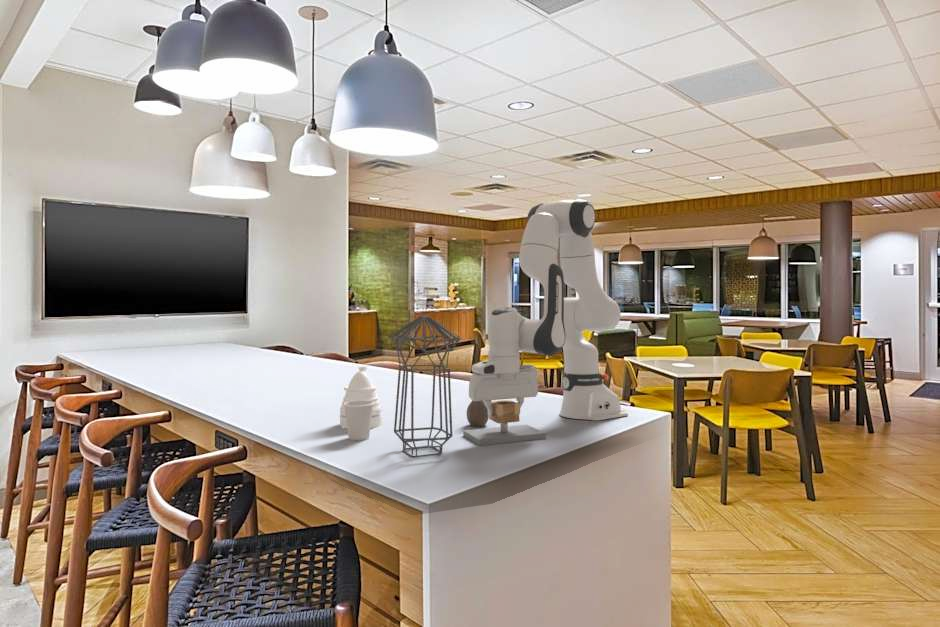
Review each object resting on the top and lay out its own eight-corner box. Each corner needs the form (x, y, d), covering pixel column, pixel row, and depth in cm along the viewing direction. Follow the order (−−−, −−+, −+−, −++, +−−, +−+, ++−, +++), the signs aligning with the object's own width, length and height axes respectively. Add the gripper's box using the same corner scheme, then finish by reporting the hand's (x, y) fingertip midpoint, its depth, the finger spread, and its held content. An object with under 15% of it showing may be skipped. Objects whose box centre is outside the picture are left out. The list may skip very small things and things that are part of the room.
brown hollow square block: (519, 421, 165) (519, 403, 165) (498, 423, 163) (498, 405, 163) (509, 417, 171) (509, 399, 171) (489, 419, 169) (489, 401, 169)
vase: (462, 426, 181) (462, 397, 181) (473, 422, 187) (472, 394, 187) (482, 428, 178) (482, 399, 178) (492, 424, 184) (492, 396, 184)
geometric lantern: (386, 448, 156) (387, 315, 156) (442, 443, 162) (444, 315, 162) (401, 462, 142) (402, 316, 141) (462, 457, 147) (464, 316, 147)
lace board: (526, 429, 177) (526, 399, 176) (545, 438, 165) (545, 406, 165) (463, 435, 169) (463, 404, 169) (479, 445, 158) (479, 411, 158)
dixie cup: (347, 443, 162) (346, 406, 161) (341, 436, 169) (340, 401, 169) (377, 439, 165) (376, 403, 165) (369, 433, 173) (369, 399, 172)
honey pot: (348, 420, 192) (347, 364, 191) (387, 421, 190) (386, 364, 189) (333, 429, 179) (333, 369, 179) (375, 430, 177) (374, 370, 177)
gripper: (531, 362, 173) (531, 409, 174) (466, 366, 166) (466, 415, 166) (542, 365, 168) (542, 413, 168) (474, 368, 160) (475, 419, 160)
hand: (504, 414), depth 167 cm, fingers closed on brown hollow square block, 6 cm apart
